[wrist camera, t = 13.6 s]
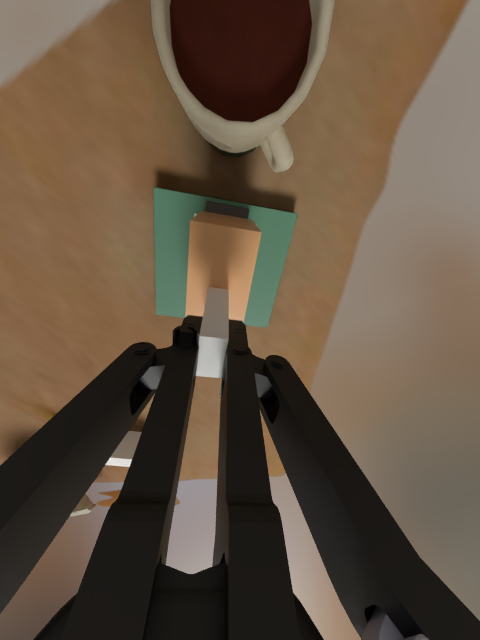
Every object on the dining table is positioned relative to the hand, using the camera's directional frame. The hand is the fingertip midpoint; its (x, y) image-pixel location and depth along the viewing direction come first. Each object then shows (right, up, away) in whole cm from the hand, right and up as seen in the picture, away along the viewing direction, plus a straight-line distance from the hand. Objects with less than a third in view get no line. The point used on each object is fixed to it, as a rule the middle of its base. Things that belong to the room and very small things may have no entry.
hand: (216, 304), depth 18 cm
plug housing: (-1, +2, +7) cm, 7 cm away
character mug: (+1, +17, +2) cm, 17 cm away
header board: (0, +5, +9) cm, 10 cm away
